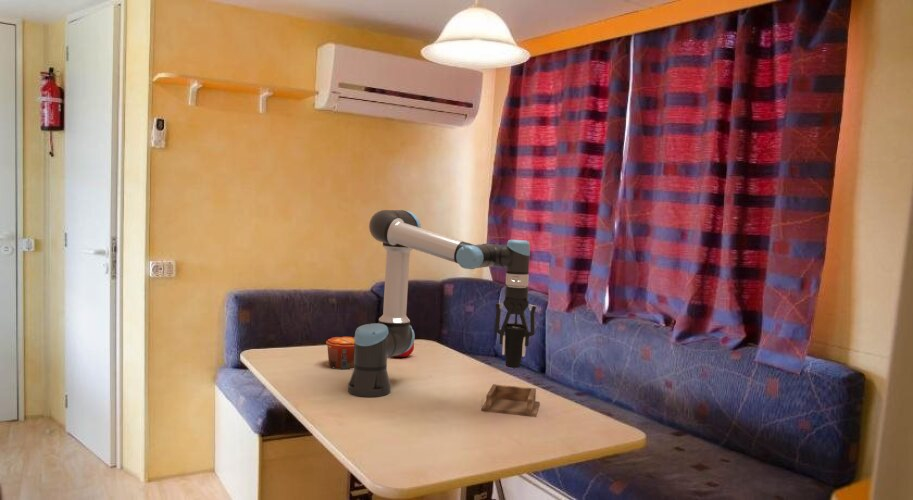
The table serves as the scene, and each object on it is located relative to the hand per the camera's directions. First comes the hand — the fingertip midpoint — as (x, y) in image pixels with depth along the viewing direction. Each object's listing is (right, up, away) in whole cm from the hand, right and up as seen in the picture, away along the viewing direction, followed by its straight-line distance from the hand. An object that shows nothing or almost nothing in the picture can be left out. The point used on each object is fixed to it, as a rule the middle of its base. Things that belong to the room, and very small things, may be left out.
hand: (513, 354), depth 218 cm
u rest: (-1, -18, +1) cm, 18 cm away
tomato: (-45, -12, +70) cm, 84 cm away
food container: (-65, -13, +49) cm, 83 cm away
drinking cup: (0, -4, 0) cm, 4 cm away
